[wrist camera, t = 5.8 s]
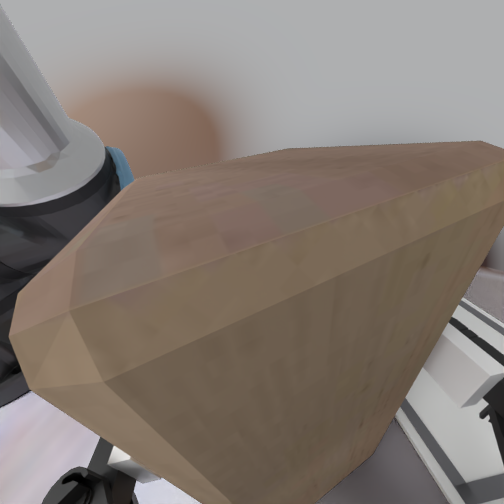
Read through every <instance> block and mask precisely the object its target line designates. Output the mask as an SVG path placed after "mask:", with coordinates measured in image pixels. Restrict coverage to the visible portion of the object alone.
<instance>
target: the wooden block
mask: <svg viewBox="0 0 504 504" xmlns="http://www.w3.org/2000/svg"><path fill="white" fill-rule="evenodd" d="M503 226H504V149H502V148H500V147H497V146H494V145H491V144H488V143H486V142H483V141H462V142H438V143H413V144H389V145H364V146H339V147H316V148H315V147H314V148H290V149H283V150H278V151H273V152H269V153H263V154H258V155H253V156H248V157H242V158H237V159H232V160H227V161H222V162H217V163H211V164H207V165H201V166H196V167H191V168H186V169H181V170H176V171H170V172H165V173H161V174H155V175H150V176H145V177H140V178H137V179H136V180H134V181H133V182H132V183H130V184H129V185H127V186H126V187H125V188H123V189H122V190H121V191H120V192H119V193H118V194H117V195H116V196H115V197H114V198H113V199H112V200H111V201H110V202H109V203H108V204H107V205H106V206H105V207H104V208H103V209H102V210H101V211H100V212H99V213H98V214H97V215H96V216H95V217H94V218H93V219H92V220H91V221H90V222H89V223H88V224H87V225H86V226H85V227H84V228H83V229H82V230H81V231H80V232H79V233H78V234H77V235H76V236H75V237H74V238H73V239H72V240H71V241H70V242H69V243H68V244H67V245H66V246H65V247H64V248H63V249H62V250H61V251H60V252H59V253H58V254H57V255H56V256H55V257H54V258H53V259H52V260H51V261H50V262H49V263H48V264H47V265H46V266H45V267H44V268H43V269H42V270H41V271H40V272H39V273H38V274H37V275H36V276H35V277H34V278H33V279H32V280H31V281H30V282H29V283H28V284H27V285H26V286H25V287H24V288H23V289H22V290H21V291H20V292H19V293H18V295H17V300H16V304H15V309H14V314H13V318H12V323H11V328H10V332H9V339H10V342H11V344H12V347H13V349H14V352H15V354H16V357H17V359H18V362H19V364H20V367H21V369H22V372H23V374H24V377H25V379H26V382H27V384H28V387H29V389H30V390H31V391H33V392H34V393H36V394H37V395H39V396H40V397H42V398H43V399H45V400H46V401H48V402H49V403H51V404H52V405H54V406H55V407H57V408H58V409H60V410H61V411H63V412H64V413H66V414H67V415H69V416H70V417H72V418H73V419H75V420H76V421H78V422H79V423H81V424H82V425H84V426H85V427H87V428H88V429H90V430H91V431H93V432H94V433H96V434H97V435H99V436H101V437H102V438H104V439H105V440H107V441H108V442H110V443H111V444H113V445H114V446H116V447H117V448H119V449H120V450H122V451H123V452H125V453H126V454H128V455H129V456H131V457H132V458H134V459H135V460H137V461H138V462H140V463H141V464H143V465H144V466H146V467H147V468H149V469H150V470H152V471H153V472H155V473H156V474H158V475H159V476H161V477H162V478H164V479H165V480H167V481H168V482H170V483H172V484H173V485H175V486H176V487H178V488H179V489H181V490H182V491H184V492H185V493H187V494H188V495H190V496H191V497H193V498H194V499H196V500H197V501H199V502H200V503H202V504H315V503H316V502H317V501H318V500H319V499H321V498H322V497H323V496H324V495H325V494H327V493H328V492H329V491H330V490H331V489H332V488H334V487H335V486H336V485H337V484H338V483H339V482H341V481H342V480H343V479H344V478H345V477H347V476H348V475H349V474H350V473H351V472H352V471H354V470H355V469H356V468H357V467H358V466H360V465H361V464H362V463H363V462H364V461H365V460H367V459H368V458H369V457H370V456H371V455H373V453H374V451H375V449H376V448H377V446H378V444H379V443H380V441H381V439H382V437H383V436H384V434H385V432H386V430H387V429H388V427H389V425H390V423H391V422H392V420H393V418H394V416H395V415H396V413H397V411H398V409H399V408H400V406H401V404H402V402H403V401H404V399H405V397H406V395H407V394H408V392H409V390H410V388H411V387H412V385H413V383H414V381H415V380H416V378H417V376H418V374H419V373H420V371H421V369H422V367H423V366H424V364H425V362H426V360H427V359H428V357H429V355H430V353H431V352H432V350H433V348H434V346H435V345H436V343H437V341H438V339H439V338H440V336H441V334H442V333H443V331H444V329H445V327H446V326H447V324H448V322H449V320H450V319H451V317H452V315H453V313H454V312H455V310H456V308H457V306H458V305H459V303H460V301H461V299H462V298H463V296H464V294H465V292H466V291H467V289H468V287H469V285H470V284H471V282H472V280H473V278H474V277H475V275H476V273H477V271H478V270H479V268H480V266H481V264H482V263H483V261H484V259H485V257H486V256H487V254H488V252H489V250H490V249H491V247H492V245H493V243H494V242H495V240H496V238H497V236H498V235H499V233H500V231H501V229H502V228H503Z"/></svg>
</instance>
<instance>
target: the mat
mask: <svg viewBox="0 0 504 504" xmlns="http://www.w3.org/2000/svg"><path fill="white" fill-rule="evenodd" d="M452 317H453V318H455V319H457V320H458V321H460V322H461V323H462V324H464V325H465V326H466V327H468V329H469V330H472V331H473V332H474V333H476V334H477V335H478V337H481V338H482V339H484V340H485V341H486V342H488V343H489V344H490V345H492V346H493V347H494V348H496V349H497V350H498V351H499V352H501V353H502V354H503V355H504V323H502V322H501V321H499V320H497V319H496V318H494V317H493V316H491V315H490V314H488V313H487V312H485V311H483V310H482V309H480V308H479V307H477V306H476V305H474V304H473V303H471V302H469V301H468V300H466V299H465V298H462V299H461V301H460V303H459V305H458V306H457V308H456V310H455V312H454V313H453V315H452ZM487 405H488V403H487V402H486V401H485V400H484V399H483V398H482V399H481V400H480V401H479V402H478V403H477V404H476V405H472V406H468V407H464V408H459V407H458V406H457V405H456V404H455V403H454V402H453V400H452V399H451V398H450V397H449V396H448V395H447V394H446V393H445V391H444V390H443V389H442V388H441V387H440V386H439V385H438V384H437V382H436V381H435V380H434V379H433V378H432V377H431V376H430V375H429V373H428V372H427V371H426V370H425V369H424V368H423V367H422V369H421V371H420V373H419V374H418V376H417V378H416V380H415V381H414V383H413V385H412V387H411V388H410V390H409V392H408V394H407V395H406V397H405V399H404V401H403V402H402V404H401V406H400V408H399V409H398V411H397V413H396V415H395V418H396V419H397V421H398V423H399V424H400V426H401V427H402V429H403V431H404V432H405V434H406V435H407V437H408V439H409V440H410V442H411V443H412V445H413V447H414V448H415V450H416V451H417V453H418V455H419V456H420V458H421V459H422V461H423V462H424V464H425V466H426V467H427V469H428V470H429V472H430V474H431V475H432V477H433V478H434V480H435V482H436V483H437V485H438V486H439V488H440V490H441V491H442V493H443V494H444V496H445V498H446V499H447V501H448V502H449V504H504V465H503V462H502V458H501V455H500V452H499V448H498V445H497V441H496V438H495V434H494V431H493V427H492V424H491V423H490V422H488V421H489V419H490V417H489V415H488V416H487V417H485V418H484V419H481V418H479V413H480V412H481V411H482V410H483V409H484V408H485V407H486V406H487Z"/></svg>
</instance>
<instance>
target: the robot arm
mask: <svg viewBox="0 0 504 504" xmlns="http://www.w3.org/2000/svg"><path fill="white" fill-rule="evenodd" d="M133 181H134V178H133V175H132V172H131V169H130V167H129V165H128V162H127V160H126V158H125V156H124V154H123V152H122V151H121V150H120V149H118V148H111V147H108V146H107V147H104V145H103V143H102V141H101V139H100V138H99V137H98V135H97V134H96V133H95V132H93V130H91V129H90V128H89V127H87V126H85V125H84V124H82V123H80V122H77V121H75V120H73V119H70V118H68V116H67V115H66V113H65V111H64V110H63V108H62V106H61V105H60V103H59V101H58V100H57V98H56V96H55V95H54V93H53V91H52V90H51V88H50V86H49V85H48V83H47V81H46V80H45V78H44V76H43V75H42V73H41V71H40V70H39V68H38V66H37V65H36V63H35V62H34V60H33V58H32V56H31V55H30V53H29V51H28V50H27V48H26V46H25V45H24V43H23V41H22V40H21V38H20V36H19V35H18V33H17V31H16V30H15V28H14V26H13V25H12V23H11V22H10V20H9V18H8V17H7V15H6V13H5V11H4V10H3V8H2V7H1V5H0V406H2V405H4V404H6V403H8V402H10V401H12V400H14V399H15V398H17V397H19V396H21V395H22V394H24V393H25V392H27V391H28V390H30V389H29V387H28V384H27V382H26V379H25V377H24V374H23V372H22V369H21V367H20V364H19V362H18V359H17V357H16V354H15V352H14V349H13V347H12V344H11V342H10V339H9V332H10V328H11V323H12V318H13V314H14V309H15V304H16V300H17V295H18V293H19V292H20V291H21V290H22V289H23V288H24V287H25V286H26V285H27V284H28V283H29V282H30V281H31V280H32V279H33V278H34V277H35V276H36V275H37V274H38V273H39V272H40V271H41V270H42V269H43V268H44V267H45V266H46V265H47V264H48V263H49V262H50V261H51V260H52V259H53V258H54V257H55V256H56V255H57V254H58V253H59V252H60V251H61V250H62V249H63V248H64V247H65V246H66V245H67V244H68V243H69V242H70V241H71V240H72V239H73V238H74V237H75V236H76V235H77V234H78V233H79V232H80V231H81V230H82V229H83V228H84V227H85V226H86V225H87V224H88V223H89V222H90V221H91V220H92V219H93V218H94V217H95V216H96V215H97V214H98V213H99V212H100V211H101V210H102V209H103V208H104V207H105V206H106V205H107V204H108V203H109V202H110V201H111V200H112V199H113V198H114V197H115V196H116V195H117V194H118V193H119V192H120V191H121V190H122V189H123V188H125V187H126V186H127V185H129V184H130V183H132V182H133ZM423 368H424V369H425V370H426V371H427V372H428V373H429V375H430V376H431V377H432V378H433V379H434V380H435V381H436V382H437V384H438V385H439V386H440V387H441V388H442V389H443V390H444V391H445V393H446V394H447V395H448V396H449V397H450V398H451V399H452V400H453V402H454V403H455V404H456V405H457V406H458V407H459V408H464V407H468V406H472V405H476V404H477V403H478V402H479V401H480V400H481V399H482V398H483V399H484V400H485V401H486V402H487V403H488V405H487V406H486V407H485V408H484V409H483V410H482V411H481V412H480V413H479V418H481V419H484V418H485V417H487V416H488V415H489V417H490V419H489V421H488V422H490V423H491V424H492V427H493V431H494V434H495V438H496V441H497V445H498V448H499V452H500V455H501V458H502V462H503V465H504V355H503V354H502V353H501V352H499V351H498V350H497V349H496V348H494V347H493V346H492V345H490V344H489V343H488V342H486V341H485V340H484V339H482V338H481V337H478V335H477V334H476V333H474V332H473V331H472V330H469V329H468V327H466V326H465V325H464V324H462V323H461V322H460V321H458V320H457V319H455V318H453V317H451V319H450V320H449V322H448V324H447V326H446V327H445V329H444V331H443V333H442V334H441V336H440V338H439V339H438V341H437V343H436V345H435V346H434V348H433V350H432V352H431V353H430V355H429V357H428V359H427V360H426V362H425V364H424V366H423ZM160 479H161V476H159V475H158V474H156V473H155V472H153V471H152V470H150V469H149V468H147V467H146V466H144V465H143V464H141V463H140V462H138V461H137V460H135V459H134V458H132V457H131V456H129V455H128V454H126V453H125V452H123V451H122V450H120V449H119V448H117V447H116V446H114V445H113V444H111V443H110V442H108V441H107V440H105V439H104V438H102V437H100V439H99V442H98V444H97V446H96V449H95V451H94V454H93V456H92V458H91V461H90V463H89V466H88V468H84V467H80V466H79V467H76V468H73V469H71V470H69V471H68V472H67V473H65V474H64V475H63V476H61V477H60V479H59V480H58V481H57V482H56V483H55V484H54V485H53V486H52V487H51V489H50V491H49V492H48V494H47V495H46V497H45V498H44V500H43V502H42V504H138V501H137V498H136V495H135V493H134V492H133V491H134V487H135V484H136V480H137V481H139V482H140V483H142V484H143V483H147V482H151V481H156V480H160Z"/></svg>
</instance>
